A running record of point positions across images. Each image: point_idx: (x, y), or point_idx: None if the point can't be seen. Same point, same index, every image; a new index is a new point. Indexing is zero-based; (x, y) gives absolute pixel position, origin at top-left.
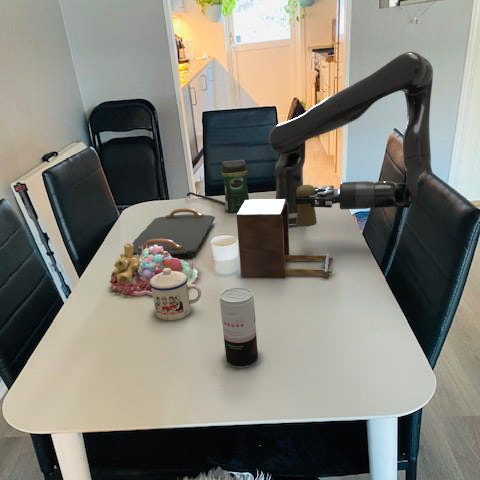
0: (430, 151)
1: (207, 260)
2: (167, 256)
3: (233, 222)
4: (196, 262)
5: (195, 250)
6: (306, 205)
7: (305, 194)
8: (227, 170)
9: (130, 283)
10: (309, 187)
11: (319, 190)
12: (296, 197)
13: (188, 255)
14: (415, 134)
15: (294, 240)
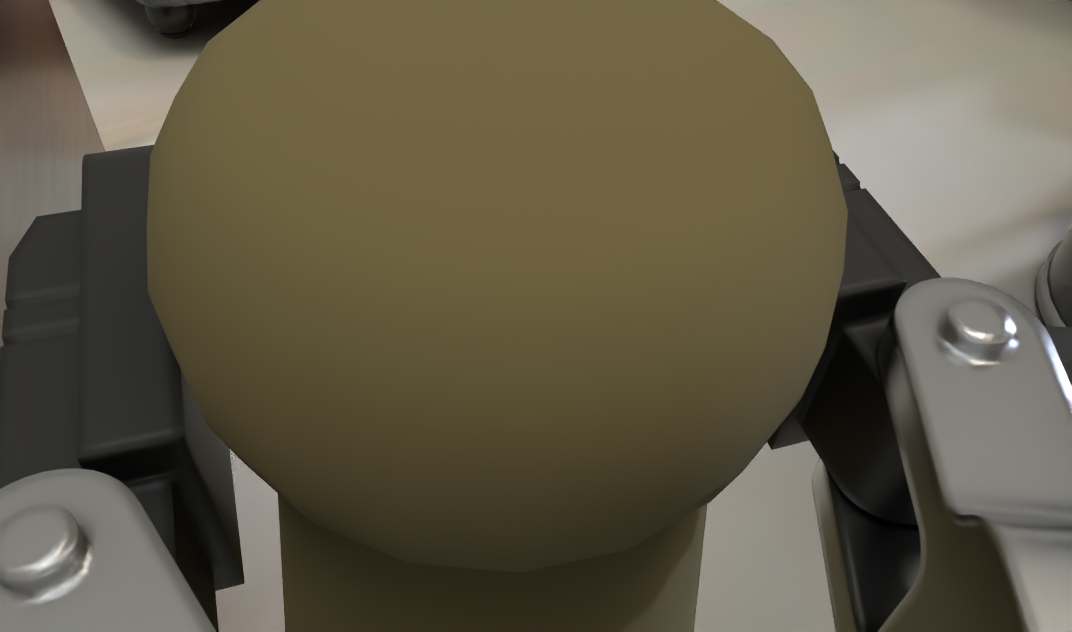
0: None
1: (133, 116)
2: None
3: (874, 25)
4: (92, 80)
5: (161, 6)
6: (289, 542)
7: (159, 310)
8: None
9: None
10: (359, 204)
11: (976, 623)
12: (94, 175)
13: (145, 10)
14: None
15: (770, 536)
